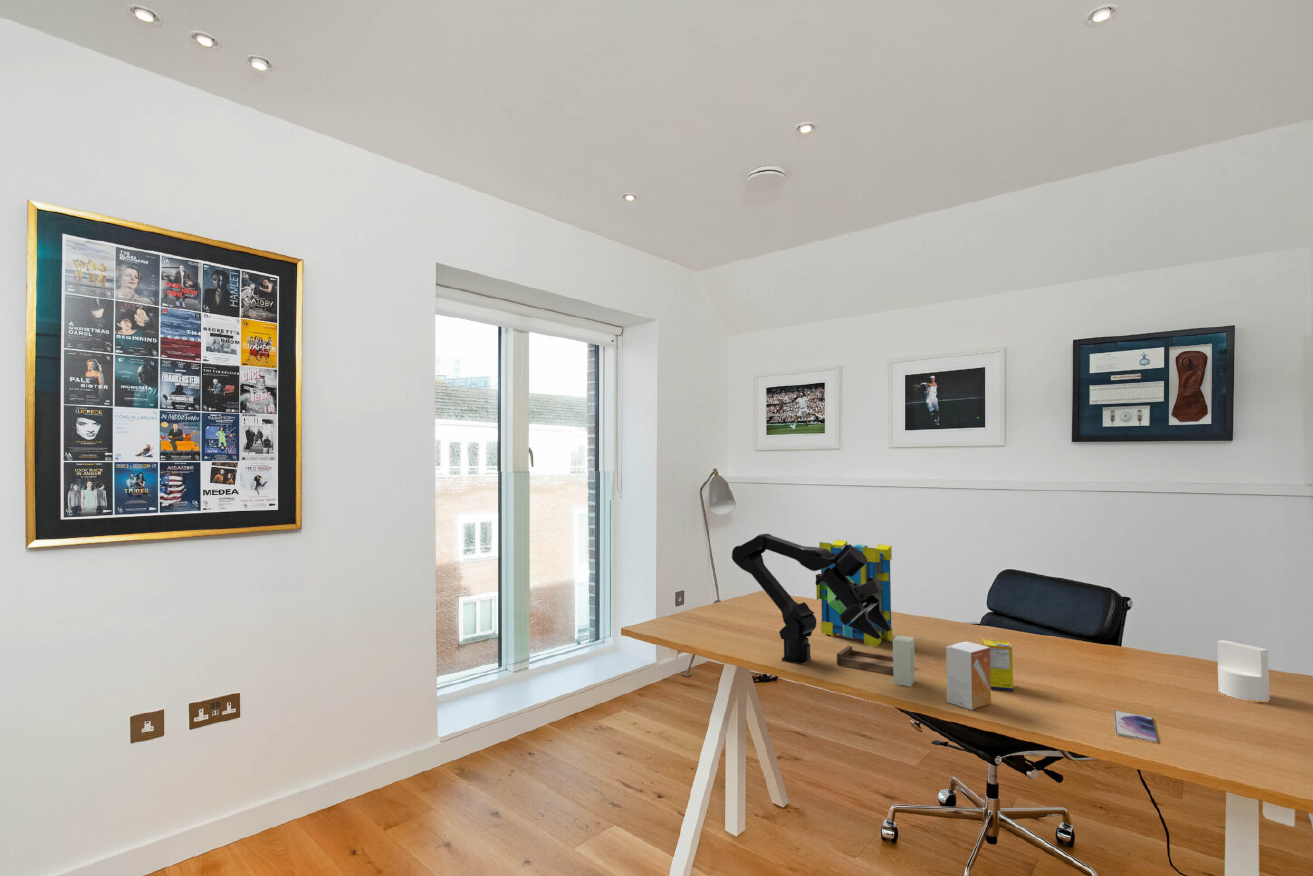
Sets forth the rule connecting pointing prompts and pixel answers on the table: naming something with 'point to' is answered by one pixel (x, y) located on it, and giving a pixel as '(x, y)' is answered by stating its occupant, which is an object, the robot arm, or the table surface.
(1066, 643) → the table surface
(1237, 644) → the base with upright slab
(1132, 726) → the smartphone
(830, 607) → the blue toy crate
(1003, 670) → the supplement box
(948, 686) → the small box
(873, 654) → the wooden tray
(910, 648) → the pale green recessed block
